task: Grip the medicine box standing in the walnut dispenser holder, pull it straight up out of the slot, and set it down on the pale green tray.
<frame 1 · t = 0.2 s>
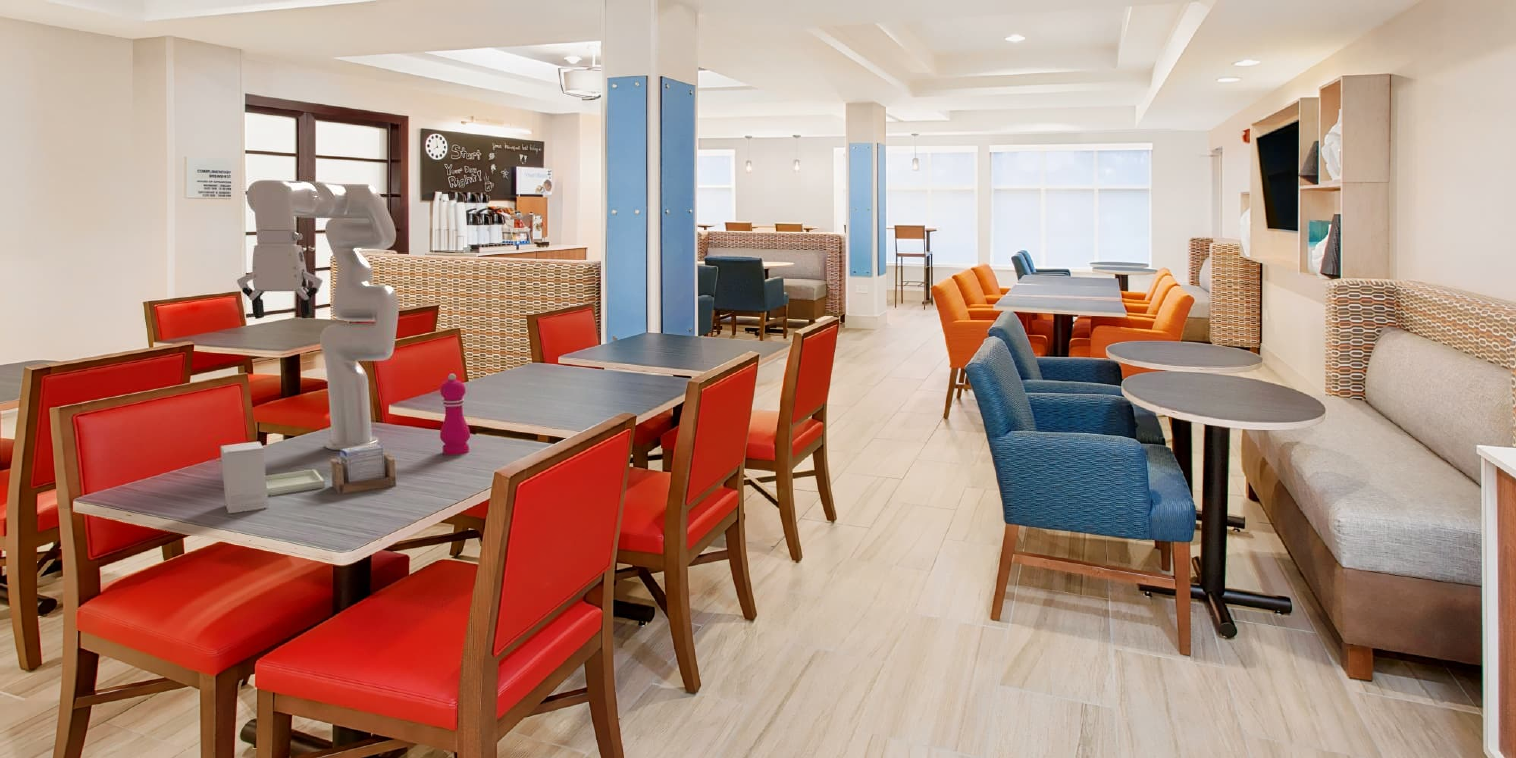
hand: (282, 317, 205), 37 cm above the table, tool pointing down, fingers open, 9 cm apart
pepper mill: (456, 452, 236), on the table
supplement box: (247, 507, 191), on the table
tray: (292, 485, 206), on the table
medicine box: (364, 487, 206), resting in holder
holder: (364, 485, 206), on the table
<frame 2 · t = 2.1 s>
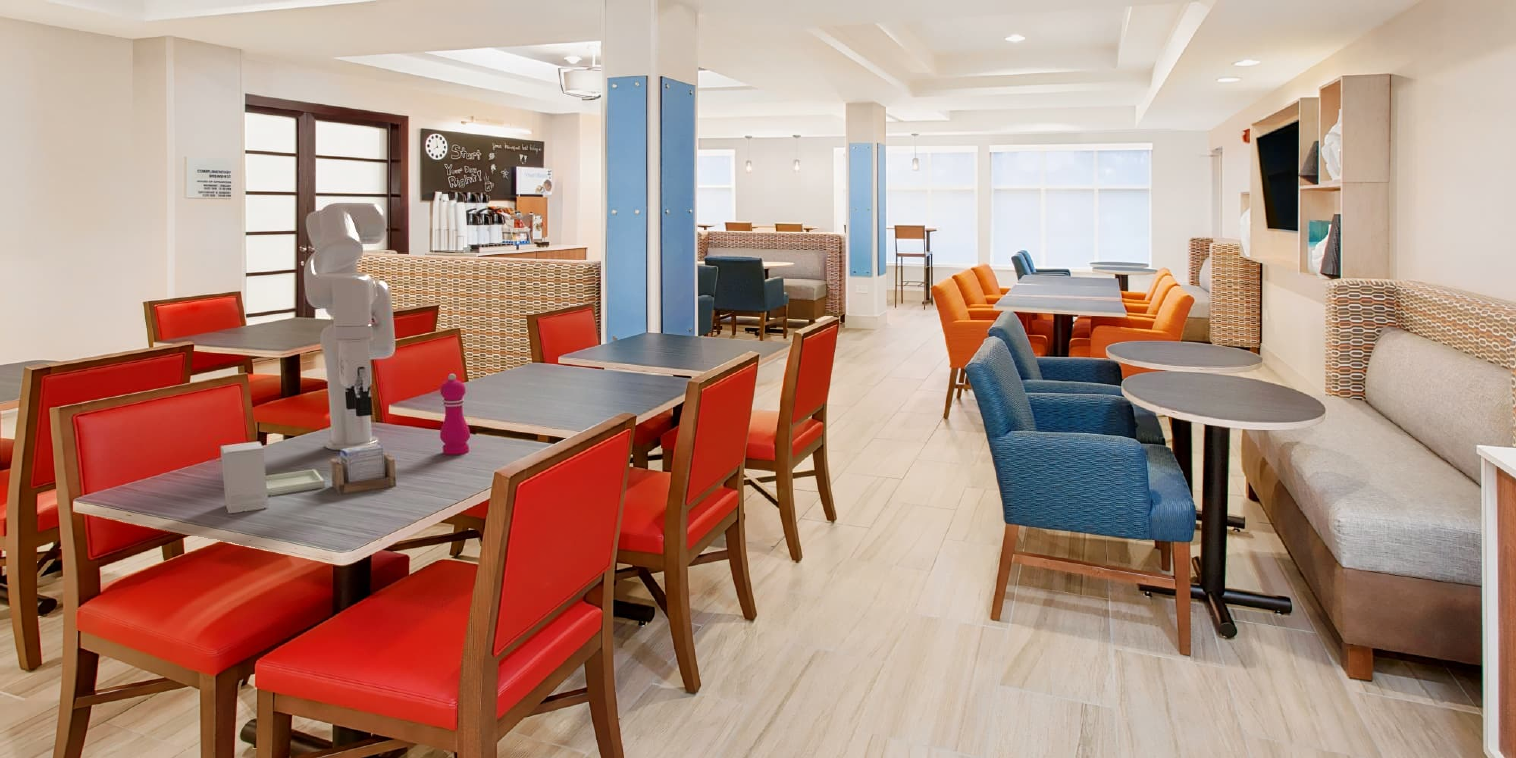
hand: (359, 412, 203), 17 cm above the table, tool pointing down, fingers open, 9 cm apart
nothing on the table moved.
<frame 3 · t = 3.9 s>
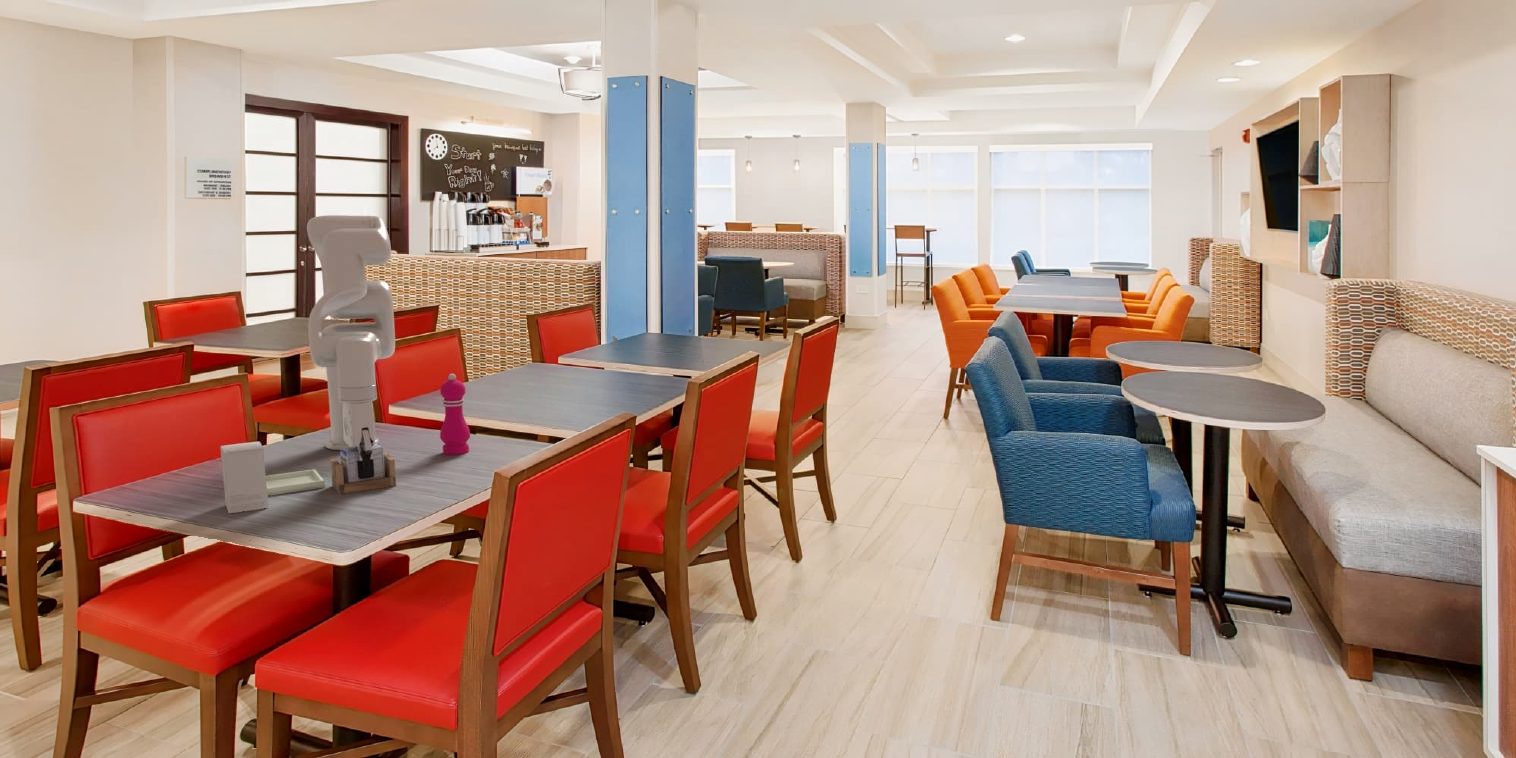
hand: (363, 474, 206), 3 cm above the table, tool pointing down, fingers closed on medicine box, 4 cm apart
medicine box: (364, 486, 206), resting in holder, touching gripper
everything else where it was.
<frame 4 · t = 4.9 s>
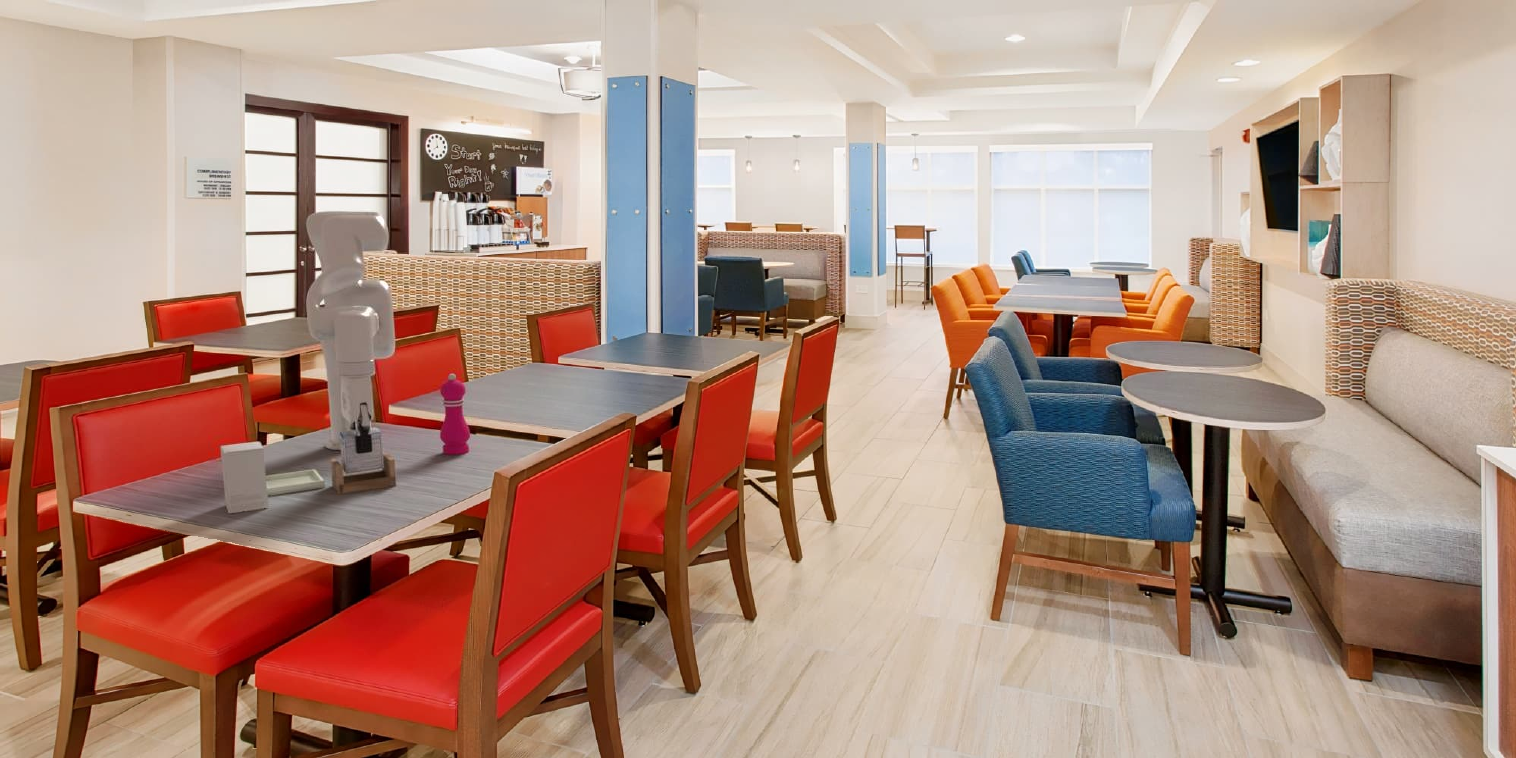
hand: (361, 449, 206), 8 cm above the table, tool pointing down, fingers closed on medicine box, 4 cm apart
medicine box: (363, 470, 207), point 3 cm above the table, touching gripper
everything else where it was.
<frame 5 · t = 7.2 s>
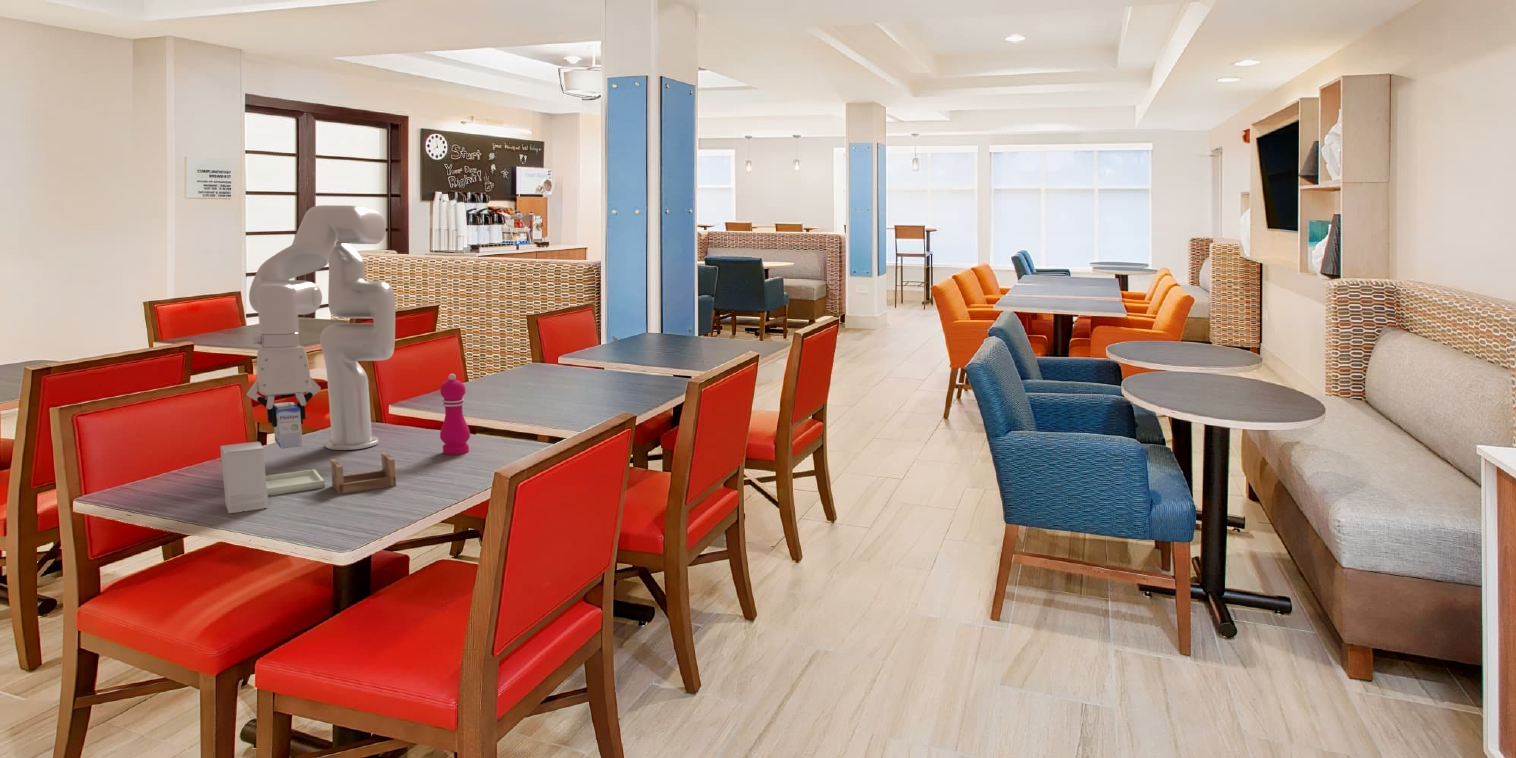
hand: (287, 423, 204), 14 cm above the table, tool pointing down, fingers closed on medicine box, 4 cm apart
medicine box: (289, 445, 205), point 9 cm above the table, touching gripper
everything else where it was.
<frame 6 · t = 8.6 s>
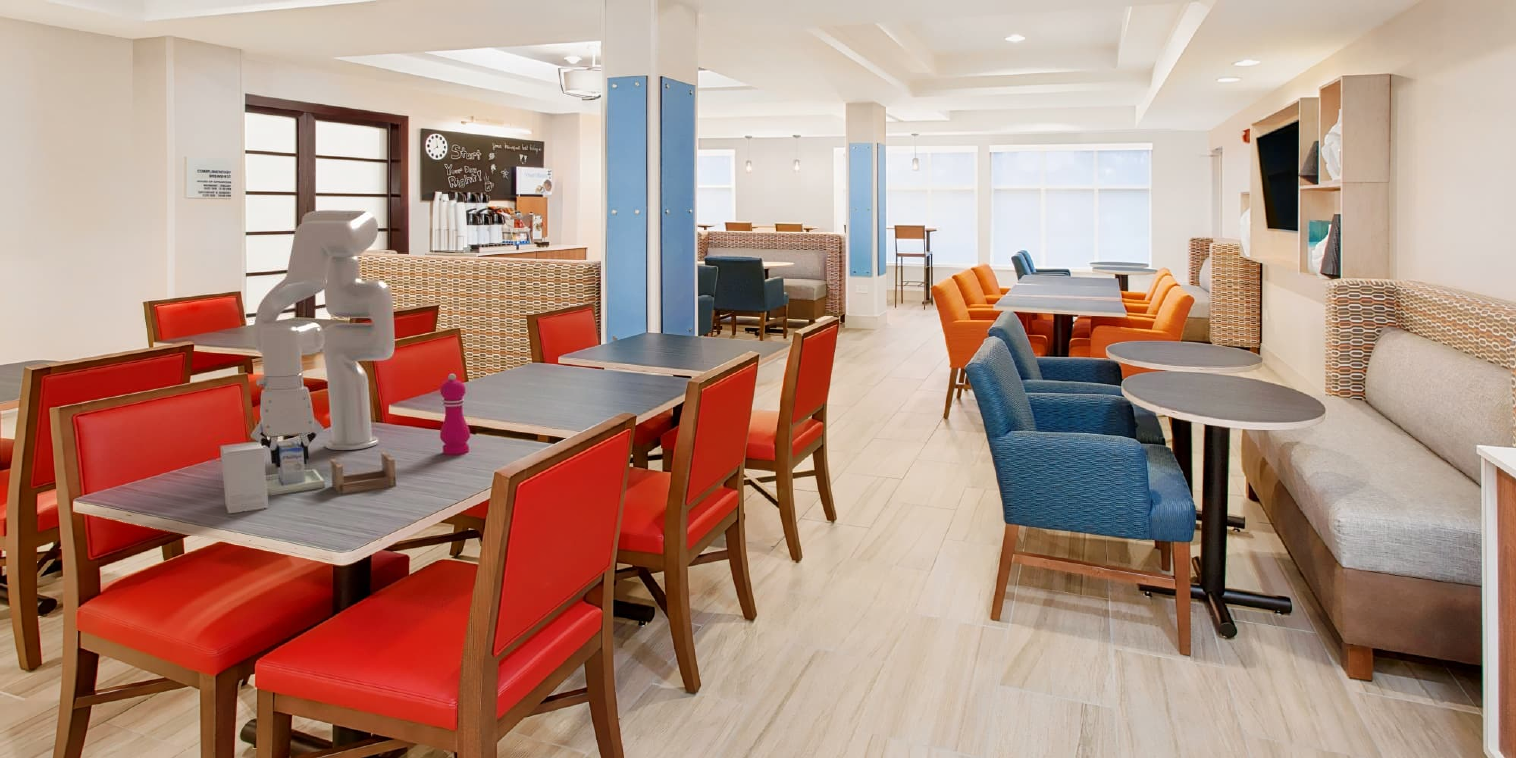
hand: (290, 463, 205), 5 cm above the table, tool pointing down, fingers closed on medicine box, 4 cm apart
medicine box: (292, 483, 206), resting on tray, touching gripper
everything else where it was.
when the fingers open (4 cm above the table, at t = 9.2 s): medicine box stays where it is, resting on tray.
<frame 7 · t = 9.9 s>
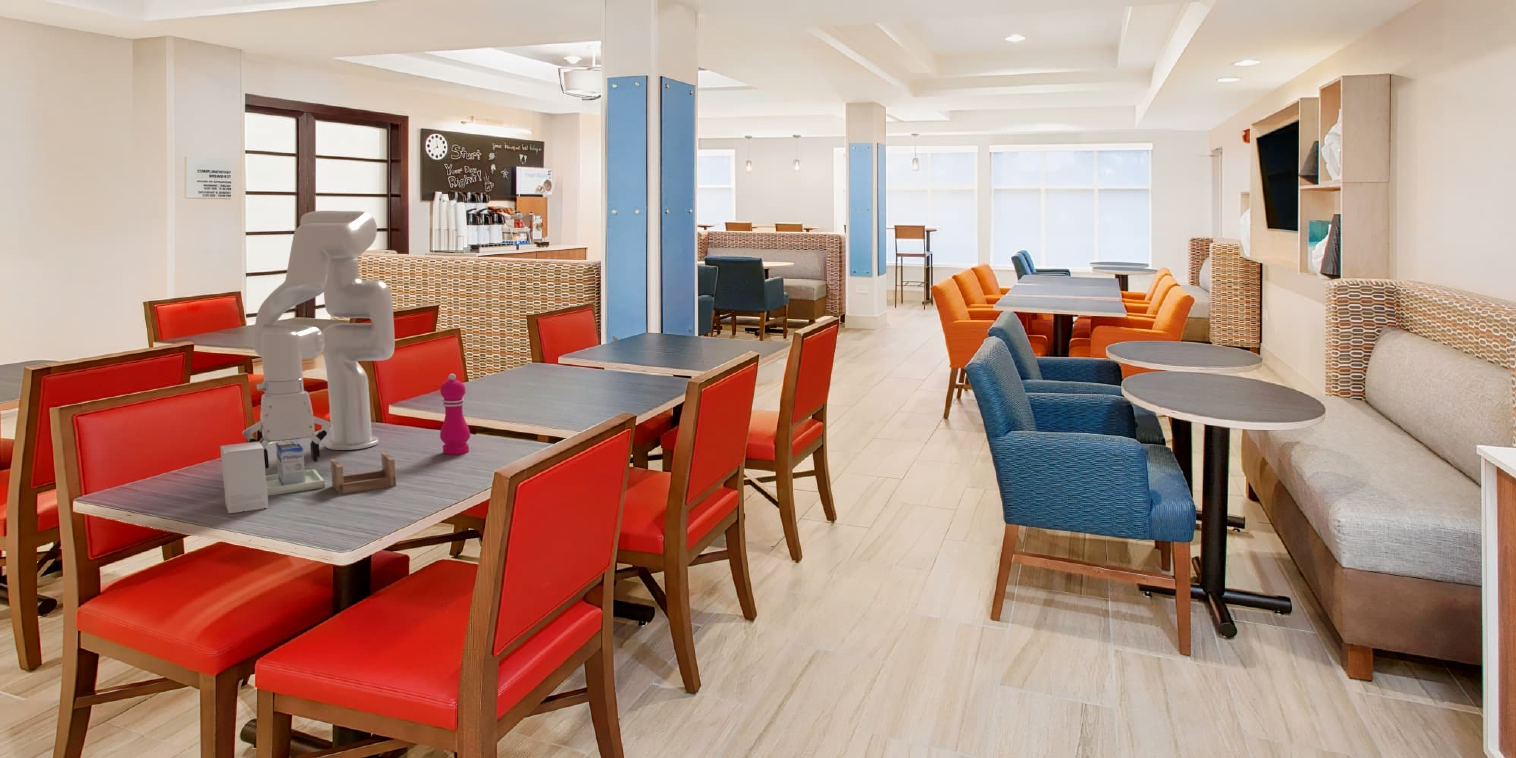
hand: (290, 463, 206), 5 cm above the table, tool pointing down, fingers open, 9 cm apart
medicine box: (292, 483, 206), resting on tray
everything else where it was.
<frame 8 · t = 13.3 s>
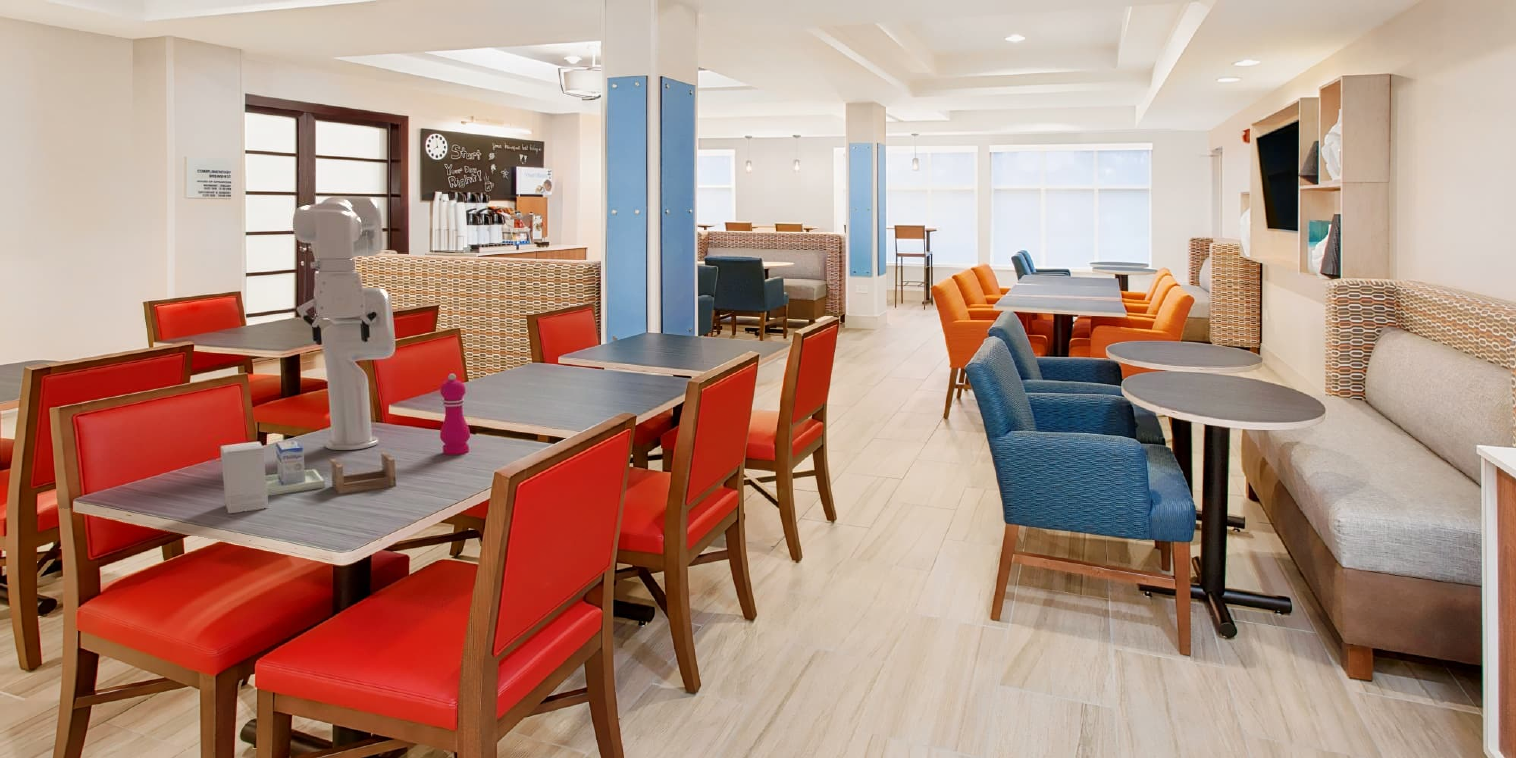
hand: (342, 342, 212), 30 cm above the table, tool pointing down, fingers open, 9 cm apart
nothing on the table moved.
at the end: medicine box inside the target area on the tray (0.1 cm from its centre), point 0.4 cm above the tray's base; medicine box tilted 0°; the gripper is holding nothing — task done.
